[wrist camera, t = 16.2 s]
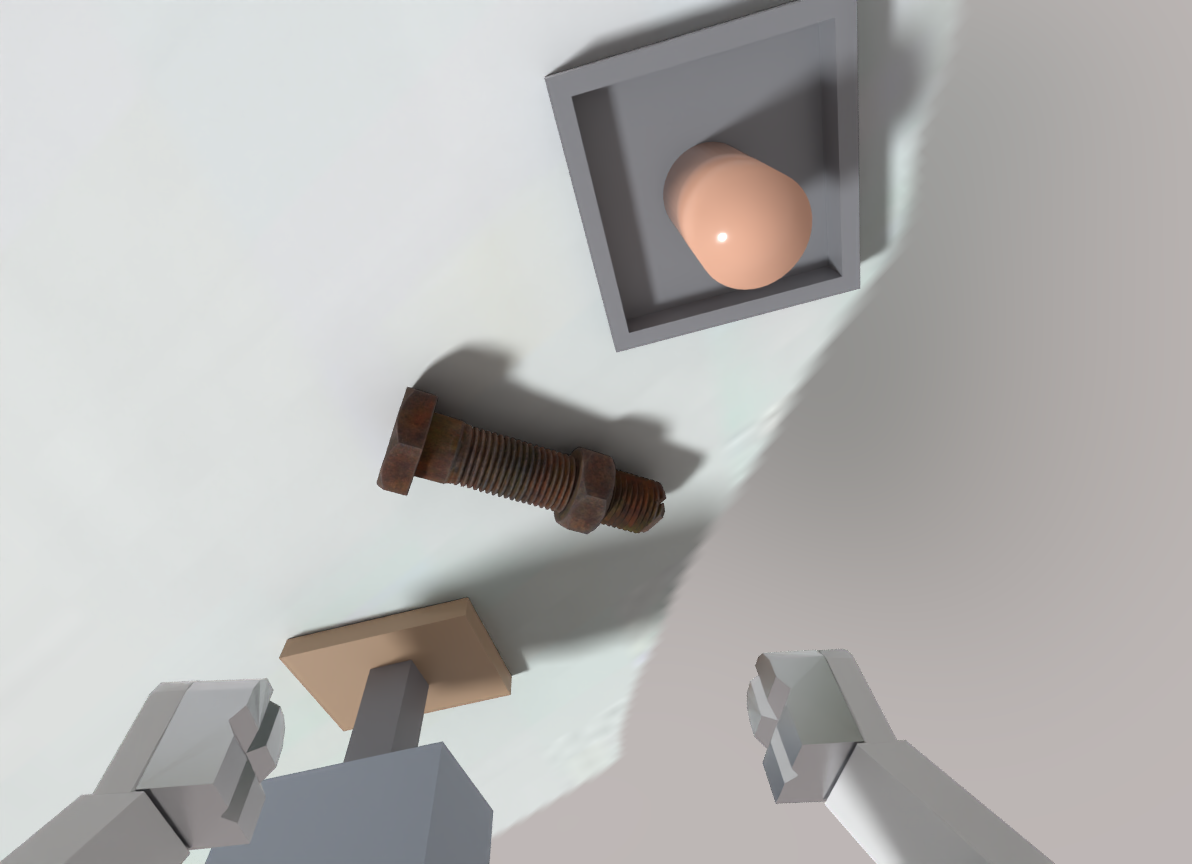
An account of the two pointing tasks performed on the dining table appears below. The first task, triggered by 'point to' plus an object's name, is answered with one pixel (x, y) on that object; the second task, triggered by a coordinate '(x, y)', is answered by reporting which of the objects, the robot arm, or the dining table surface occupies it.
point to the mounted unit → (384, 747)
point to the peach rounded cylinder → (737, 214)
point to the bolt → (516, 470)
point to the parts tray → (714, 114)
